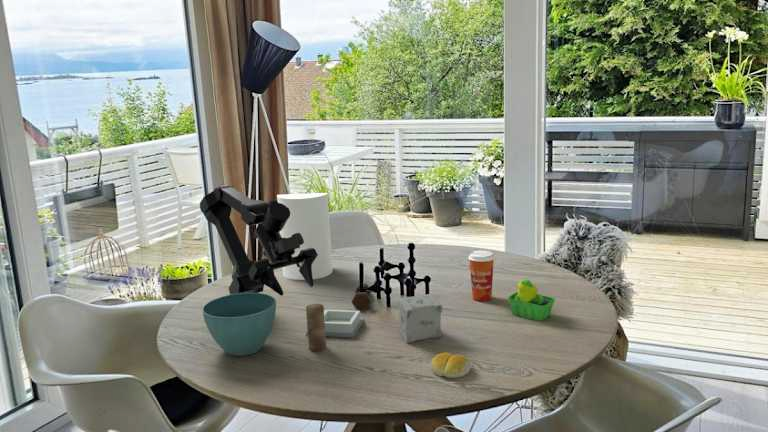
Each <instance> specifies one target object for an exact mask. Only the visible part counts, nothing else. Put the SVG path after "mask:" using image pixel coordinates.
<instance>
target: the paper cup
mask: <svg viewBox="0 0 768 432" xmlns="http://www.w3.org/2000/svg"><path fill="white" fill-rule="evenodd" d="M494 255H495V254H494V253H493V252H492V251H488V250H475V251H471V253H469V256H468V260H469V270H470V281H471V293H472V294H471V295H472V300H473V301H476V302H483V303H484V302H488V301H491V300H492V296H493V295H492V293H493V281H494V279H493V276H494V261H495V259H496V257H495V256H494Z"/></svg>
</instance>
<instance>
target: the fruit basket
mask: <svg viewBox="0 0 768 432" xmlns="http://www.w3.org/2000/svg"><path fill="white" fill-rule="evenodd" d="M517 288H518V289H517V292H514V293H512V294H510V295H508V296H507V300H508V302H509V306H510V309H511V313H512V315H515V316H519V317H523V318H527V319H530V320H535V321H539V322H541V321H543V320H545V319H547V317H550V316H551V313H552V309H553V305H554V304H555V301H556V298H555V297H551V296H547V295H542V294H538V291H539V290H538V287H537V286H536V285H535V284H533V283H532V282H531V281H530V279H526V278H524V279H523V280H520V281H519V283H518V285H517Z"/></svg>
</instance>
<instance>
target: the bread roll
mask: <svg viewBox="0 0 768 432" xmlns="http://www.w3.org/2000/svg"><path fill="white" fill-rule="evenodd" d="M430 363H431V364H430V366H431V371H432V373H433V374H434V375H437V376H439V377H446V378H449V379H456V378H462V377H465V375H467V374H469V372H470V371H471V368H472V364H471V362H470V361H469V359H468V358H467V357H465V356H464V355H462V354H457V353H456V354H452V353H450V352H441V353H439V354H436V355H435V356H434V357H433V358H432V360H431V361H430Z"/></svg>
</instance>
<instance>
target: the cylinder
mask: <svg viewBox="0 0 768 432" xmlns="http://www.w3.org/2000/svg"><path fill="white" fill-rule="evenodd" d="M276 200H277V202H278V203H281V204H283V205H285V206H286V207H288V208H289V210H290V217H289V218H288V220H287V222H286V224H285V225H284V227H283V229H282V230H281V231H279V233H280V235H281V237H282V238H289V237H292V235H294V234H295V233H300V234H301V236H302V237H303V240H304V243H303V244H302V245H299V246H300V248H297V249H295V253H294V254H293V255H292V257H296V256H298V254H299V253H300V251H301V250H304V249H308V248H314V249H315V250H316V252H317V254H318V256H317V257H316V259H315V260H314V262H313V263H312V277H313V280H317V279H322V278H325V277H328V276H329V275H331V274H332V273H333V260H332V243H331V241H332V240H331V226H330V209H329V206H330V205H329V193H328V192H321V193H319V192H318V193H297V194H296V193H292V194H276ZM281 269H282V276H283V277H284V278H285V279H289V280H294V281H306V280H305V279H304V277H303V276H302V274H301V273H300V272H299V269H300V268H299V267H297V265H296V264H294V265H290V266H286V267H282V268H281Z"/></svg>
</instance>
